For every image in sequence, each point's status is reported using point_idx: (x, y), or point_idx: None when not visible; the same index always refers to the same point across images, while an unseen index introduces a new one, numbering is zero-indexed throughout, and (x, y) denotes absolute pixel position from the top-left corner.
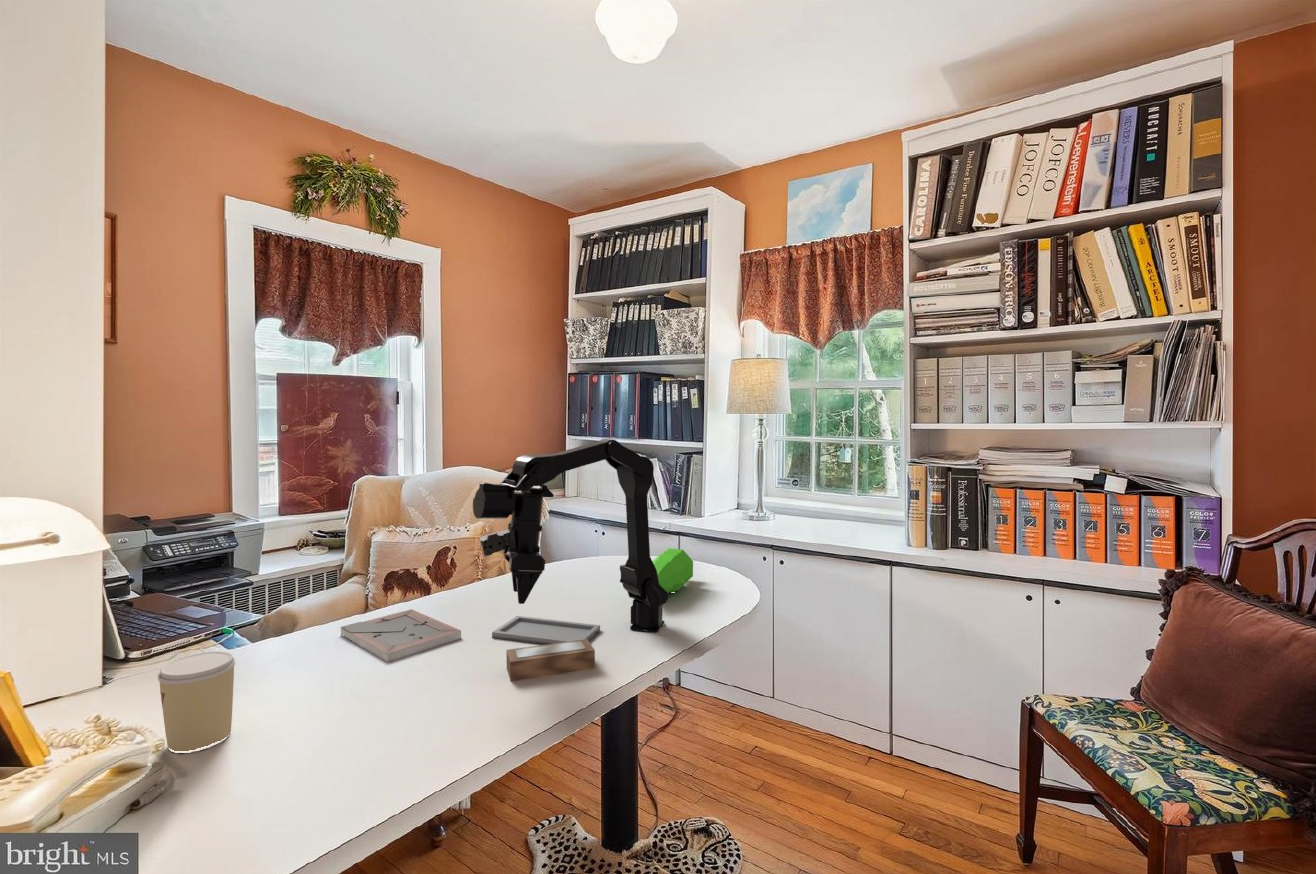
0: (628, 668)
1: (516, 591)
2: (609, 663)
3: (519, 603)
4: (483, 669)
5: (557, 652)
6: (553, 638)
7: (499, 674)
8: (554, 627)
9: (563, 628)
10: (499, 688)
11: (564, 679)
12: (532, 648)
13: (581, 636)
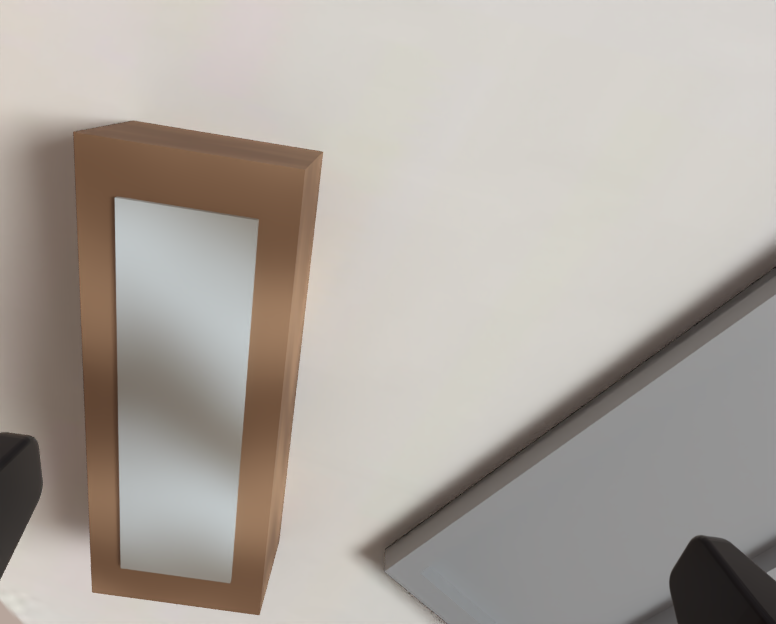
0: (87, 621)
1: (680, 558)
2: None
3: (6, 439)
4: (375, 9)
5: (119, 433)
6: (523, 492)
7: (255, 86)
8: None
9: None
10: (59, 31)
11: (63, 373)
12: (235, 329)
13: (509, 604)
